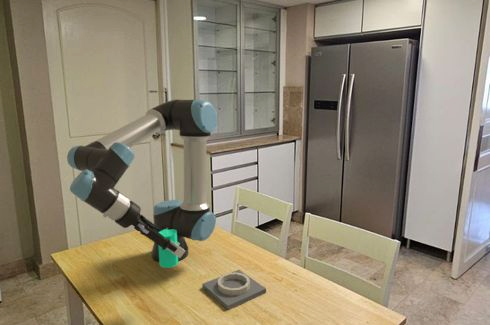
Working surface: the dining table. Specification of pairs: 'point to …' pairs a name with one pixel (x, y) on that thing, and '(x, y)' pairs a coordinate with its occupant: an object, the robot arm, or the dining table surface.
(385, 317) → the dining table surface
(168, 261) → the candle
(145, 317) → the dining table surface
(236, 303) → the candle stand
